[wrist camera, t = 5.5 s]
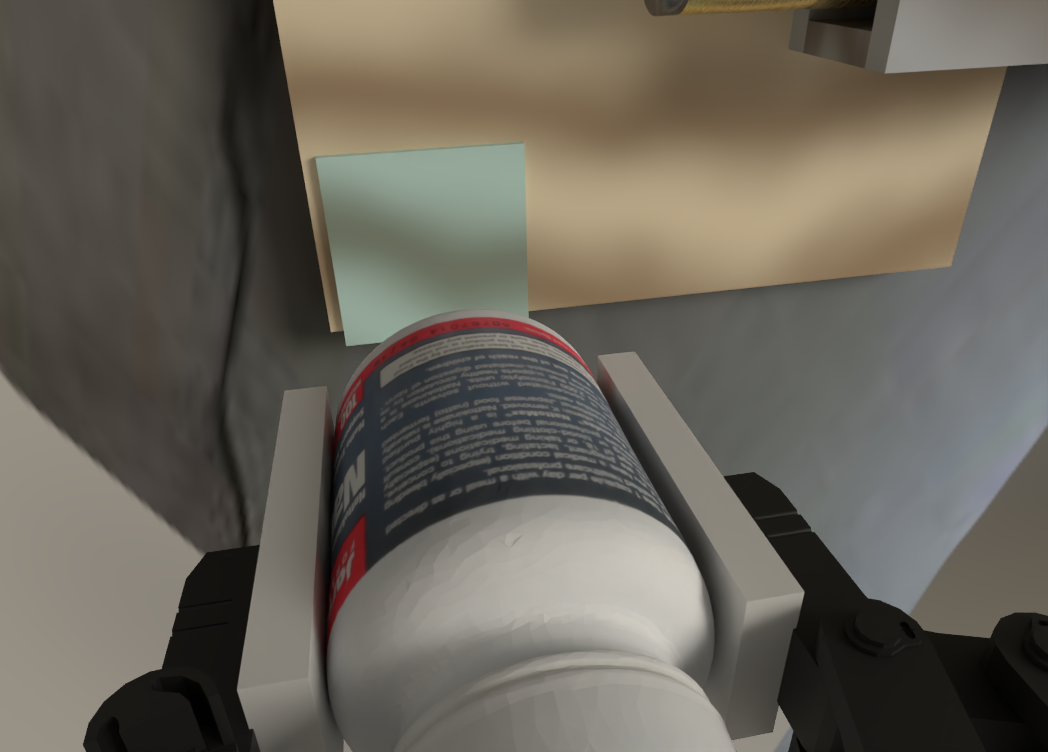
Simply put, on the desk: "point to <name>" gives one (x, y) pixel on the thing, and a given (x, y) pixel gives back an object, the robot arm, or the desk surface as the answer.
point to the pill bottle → (505, 558)
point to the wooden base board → (633, 146)
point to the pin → (744, 6)
